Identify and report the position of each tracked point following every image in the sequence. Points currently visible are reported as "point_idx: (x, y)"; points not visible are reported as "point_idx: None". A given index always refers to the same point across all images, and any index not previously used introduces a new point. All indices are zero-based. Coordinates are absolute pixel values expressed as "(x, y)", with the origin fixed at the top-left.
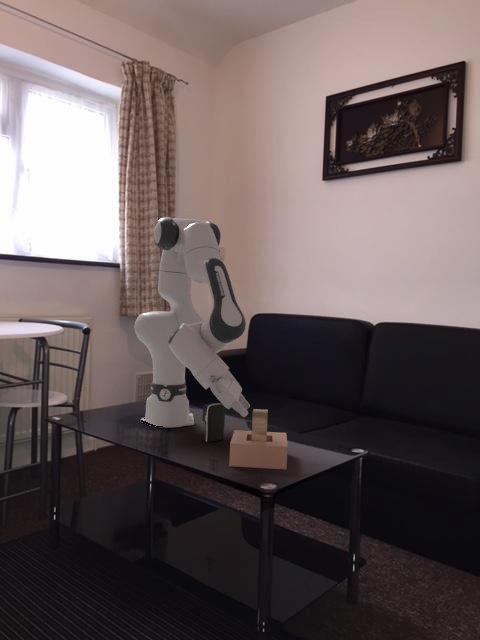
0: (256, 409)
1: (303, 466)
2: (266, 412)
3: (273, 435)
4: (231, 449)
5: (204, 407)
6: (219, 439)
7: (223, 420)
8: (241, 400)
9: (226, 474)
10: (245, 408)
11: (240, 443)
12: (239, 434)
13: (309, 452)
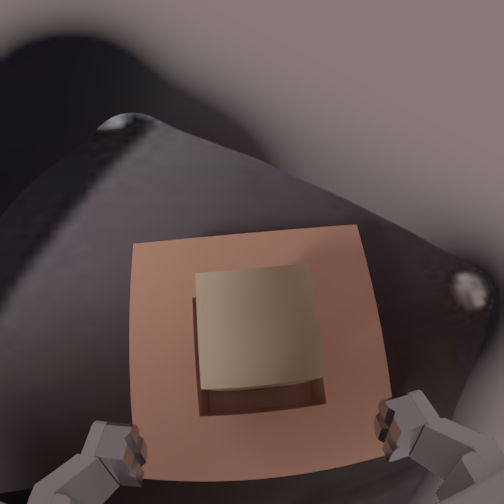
0: (210, 361)
1: (286, 217)
2: (304, 270)
3: (189, 292)
4: None
5: None
6: None
7: (12, 498)
8: (87, 494)
9: None
10: (144, 453)
11: None
12: (217, 453)
13: (134, 209)
